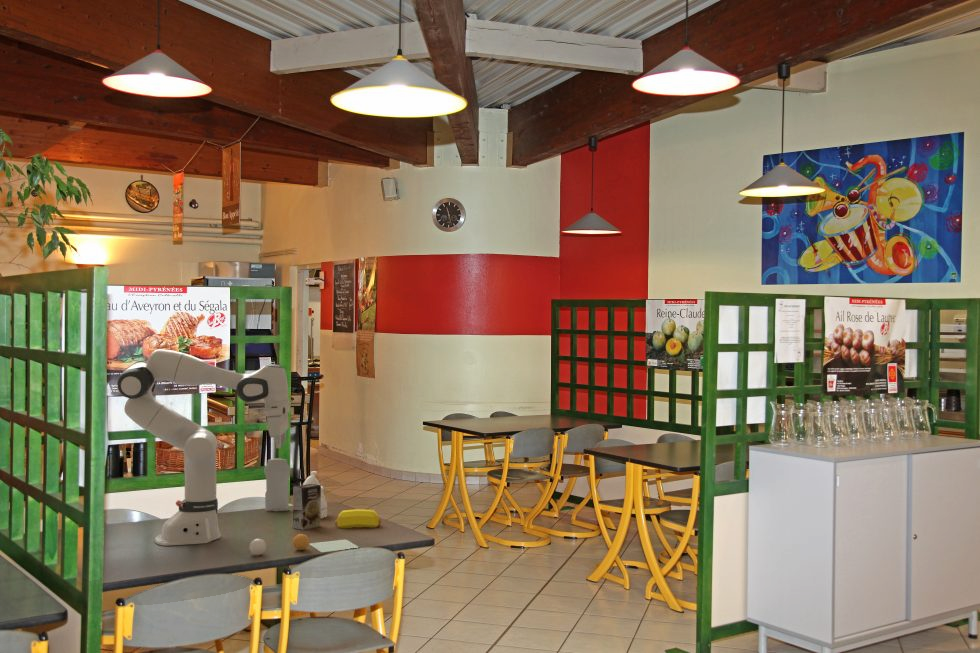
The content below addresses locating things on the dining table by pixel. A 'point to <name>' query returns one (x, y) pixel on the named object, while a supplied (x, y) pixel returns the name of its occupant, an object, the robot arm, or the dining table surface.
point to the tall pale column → (277, 485)
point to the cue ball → (257, 547)
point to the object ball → (300, 542)
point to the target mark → (333, 545)
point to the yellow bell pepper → (357, 518)
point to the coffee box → (306, 506)
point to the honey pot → (313, 480)
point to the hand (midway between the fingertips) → (281, 445)
